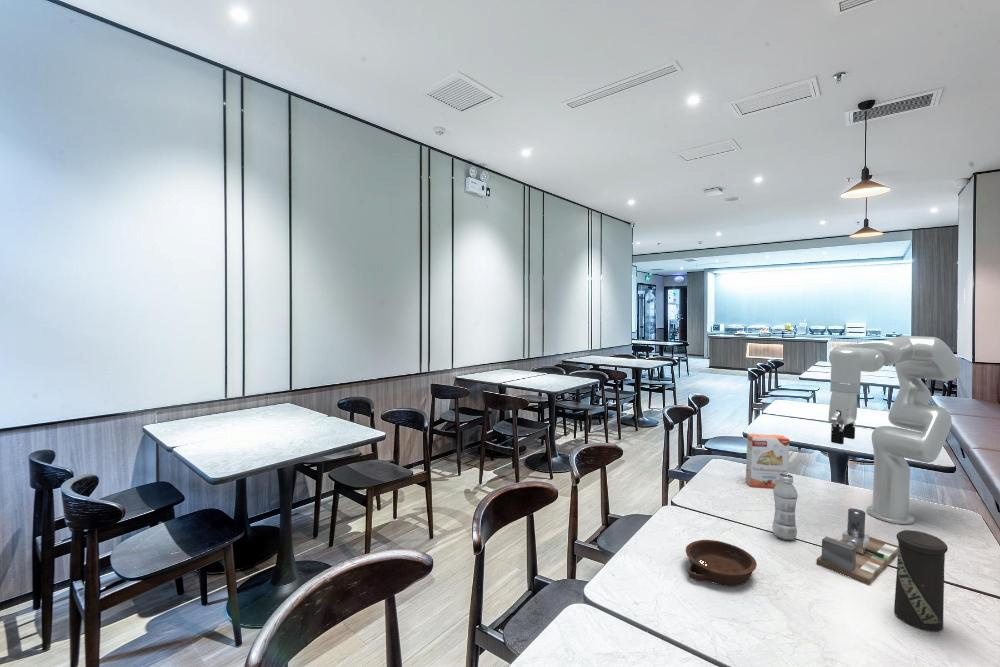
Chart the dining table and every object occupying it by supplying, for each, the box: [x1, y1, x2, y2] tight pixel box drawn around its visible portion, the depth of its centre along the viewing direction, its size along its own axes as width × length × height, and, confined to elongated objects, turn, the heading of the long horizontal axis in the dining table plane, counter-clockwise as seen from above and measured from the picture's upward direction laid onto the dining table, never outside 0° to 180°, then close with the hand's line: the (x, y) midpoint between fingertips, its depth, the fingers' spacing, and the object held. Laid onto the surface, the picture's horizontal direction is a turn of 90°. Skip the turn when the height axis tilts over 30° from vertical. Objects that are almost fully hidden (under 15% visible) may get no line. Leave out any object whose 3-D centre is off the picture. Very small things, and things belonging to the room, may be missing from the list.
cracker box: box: [745, 433, 790, 489], centre depth 184 cm, size 14×6×21 cm, turn 81°
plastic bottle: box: [771, 474, 799, 541], centre depth 142 cm, size 6×7×20 cm
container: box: [893, 529, 949, 632], centre depth 104 cm, size 9×9×20 cm
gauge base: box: [815, 535, 898, 586], centre depth 130 cm, size 28×12×8 cm, turn 125°
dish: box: [685, 539, 757, 587], centre depth 124 cm, size 18×22×5 cm
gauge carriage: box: [841, 507, 884, 557], centre depth 129 cm, size 11×9×11 cm
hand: (842, 440), depth 144 cm, fingers open, 9 cm apart
